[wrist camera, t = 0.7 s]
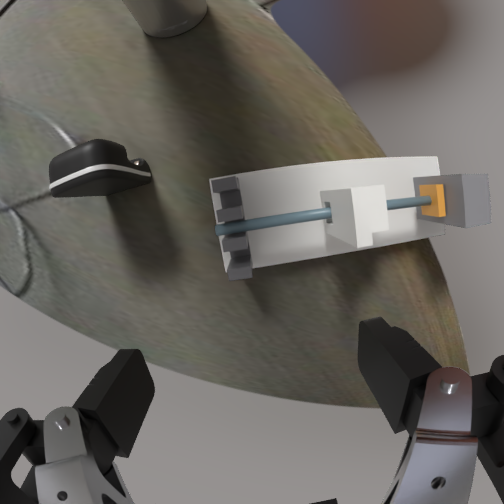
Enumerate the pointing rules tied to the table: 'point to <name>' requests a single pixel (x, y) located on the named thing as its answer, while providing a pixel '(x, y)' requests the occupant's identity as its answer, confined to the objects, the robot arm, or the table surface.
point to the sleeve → (356, 213)
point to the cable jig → (312, 214)
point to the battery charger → (96, 170)
